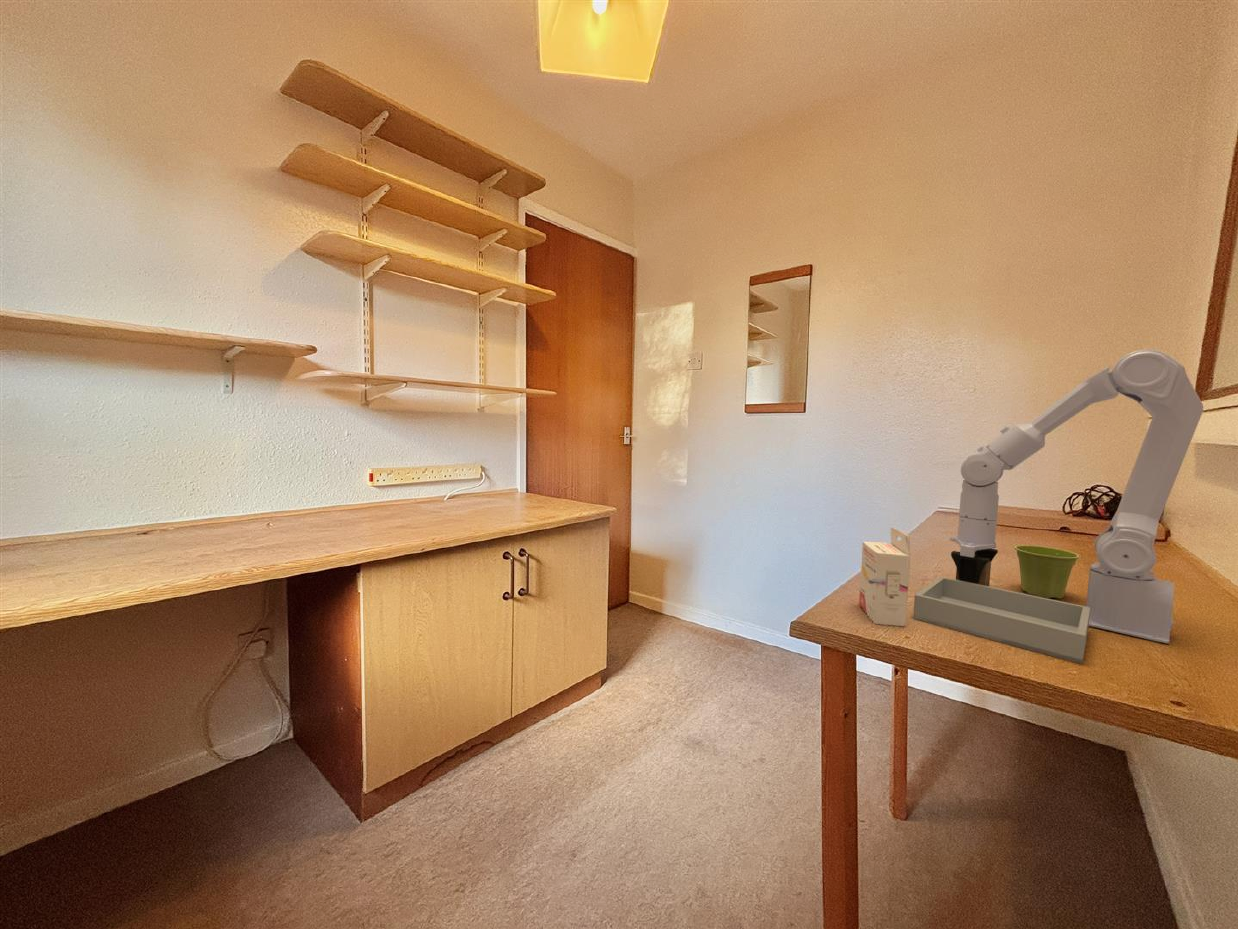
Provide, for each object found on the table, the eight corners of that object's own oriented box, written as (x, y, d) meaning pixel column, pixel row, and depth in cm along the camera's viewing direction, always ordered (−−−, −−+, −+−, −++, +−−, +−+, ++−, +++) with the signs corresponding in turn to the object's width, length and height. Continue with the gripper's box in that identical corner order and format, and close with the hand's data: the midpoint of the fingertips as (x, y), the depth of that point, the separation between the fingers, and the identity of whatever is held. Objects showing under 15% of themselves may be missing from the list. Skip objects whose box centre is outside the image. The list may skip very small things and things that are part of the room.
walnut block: (988, 596, 89) (991, 561, 89) (983, 602, 86) (986, 565, 86) (959, 590, 92) (962, 556, 92) (954, 595, 89) (957, 559, 89)
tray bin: (1087, 632, 73) (1090, 607, 73) (1082, 664, 63) (1085, 635, 62) (938, 597, 88) (940, 576, 88) (913, 618, 77) (914, 595, 77)
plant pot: (1070, 606, 85) (1075, 560, 84) (1005, 592, 92) (1009, 549, 92) (1078, 596, 91) (1083, 552, 90) (1016, 583, 98) (1020, 542, 97)
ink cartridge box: (856, 605, 83) (862, 523, 82) (887, 608, 82) (892, 525, 81) (873, 624, 74) (878, 533, 73) (907, 627, 73) (913, 536, 72)
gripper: (960, 511, 96) (955, 575, 97) (942, 518, 86) (937, 590, 87) (1004, 516, 91) (998, 584, 92) (990, 524, 81) (984, 600, 82)
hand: (972, 587), depth 89 cm, fingers open, 6 cm apart
